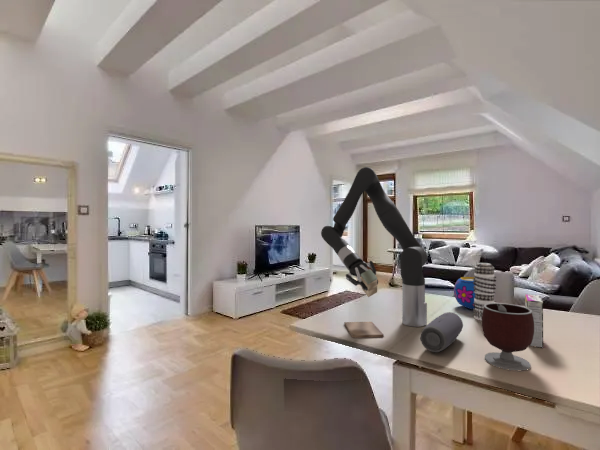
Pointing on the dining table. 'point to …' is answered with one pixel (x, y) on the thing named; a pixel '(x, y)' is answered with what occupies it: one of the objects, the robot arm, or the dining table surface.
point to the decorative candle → (483, 287)
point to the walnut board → (363, 329)
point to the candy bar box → (536, 317)
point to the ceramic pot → (465, 292)
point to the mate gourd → (507, 334)
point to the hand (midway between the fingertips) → (372, 286)
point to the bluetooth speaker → (441, 332)
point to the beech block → (369, 282)
